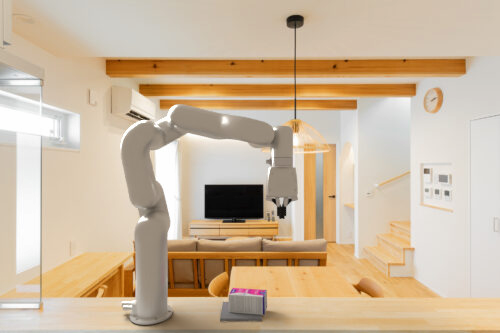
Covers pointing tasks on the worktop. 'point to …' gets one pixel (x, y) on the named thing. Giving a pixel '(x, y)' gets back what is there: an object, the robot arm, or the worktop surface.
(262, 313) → the supplement box
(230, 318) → the felt pad
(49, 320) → the worktop surface
